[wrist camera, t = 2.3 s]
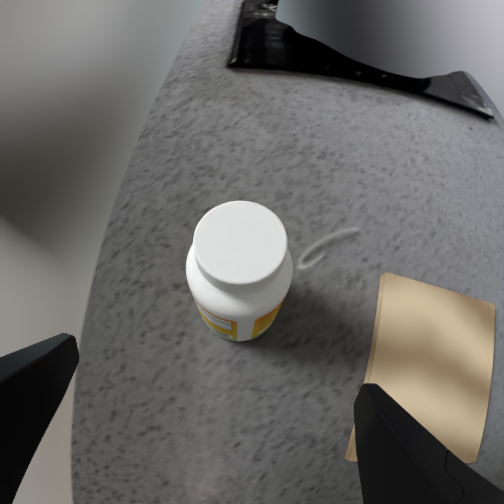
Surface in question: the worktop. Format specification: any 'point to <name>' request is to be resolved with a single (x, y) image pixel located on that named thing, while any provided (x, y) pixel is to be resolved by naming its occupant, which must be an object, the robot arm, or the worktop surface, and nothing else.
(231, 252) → the supplement bottle
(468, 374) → the oak board
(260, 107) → the worktop surface
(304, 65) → the worktop surface
